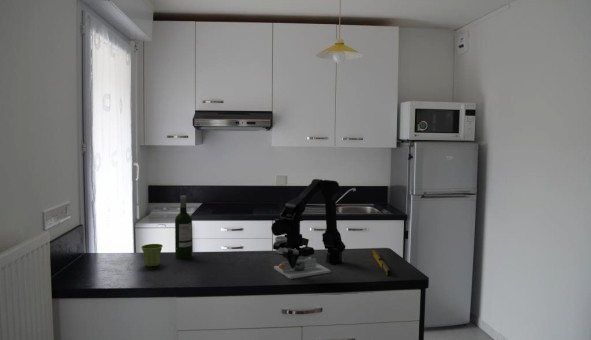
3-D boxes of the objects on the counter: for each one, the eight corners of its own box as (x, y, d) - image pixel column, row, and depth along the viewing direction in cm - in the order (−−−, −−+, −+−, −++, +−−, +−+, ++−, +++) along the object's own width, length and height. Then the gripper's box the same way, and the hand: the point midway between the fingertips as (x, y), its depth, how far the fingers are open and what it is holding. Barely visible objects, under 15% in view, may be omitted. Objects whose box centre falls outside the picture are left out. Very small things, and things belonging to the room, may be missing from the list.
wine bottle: (183, 259, 202) (182, 197, 200) (171, 257, 207) (171, 196, 204) (195, 256, 209) (195, 195, 207) (184, 253, 213) (183, 194, 211)
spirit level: (372, 255, 216) (372, 249, 216) (374, 255, 216) (375, 249, 216) (387, 276, 183) (387, 269, 183) (390, 276, 183) (390, 269, 183)
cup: (287, 257, 209) (287, 241, 209) (271, 256, 211) (271, 240, 210) (291, 251, 220) (292, 236, 219) (277, 250, 221) (277, 235, 221)
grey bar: (317, 268, 188) (317, 260, 187) (281, 272, 181) (281, 264, 180) (312, 265, 192) (312, 257, 192) (276, 269, 185) (276, 261, 185)
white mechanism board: (311, 262, 201) (311, 254, 201) (330, 272, 186) (330, 264, 186) (273, 268, 191) (273, 259, 191) (290, 279, 177) (290, 270, 177)
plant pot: (136, 266, 191) (136, 247, 191) (151, 260, 200) (150, 242, 199) (153, 268, 188) (153, 249, 187) (167, 263, 197) (167, 244, 196)
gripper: (322, 232, 180) (321, 268, 181) (288, 226, 192) (288, 259, 193) (306, 236, 171) (305, 274, 172) (272, 230, 183) (271, 265, 184)
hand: (292, 268), depth 181 cm, fingers closed
